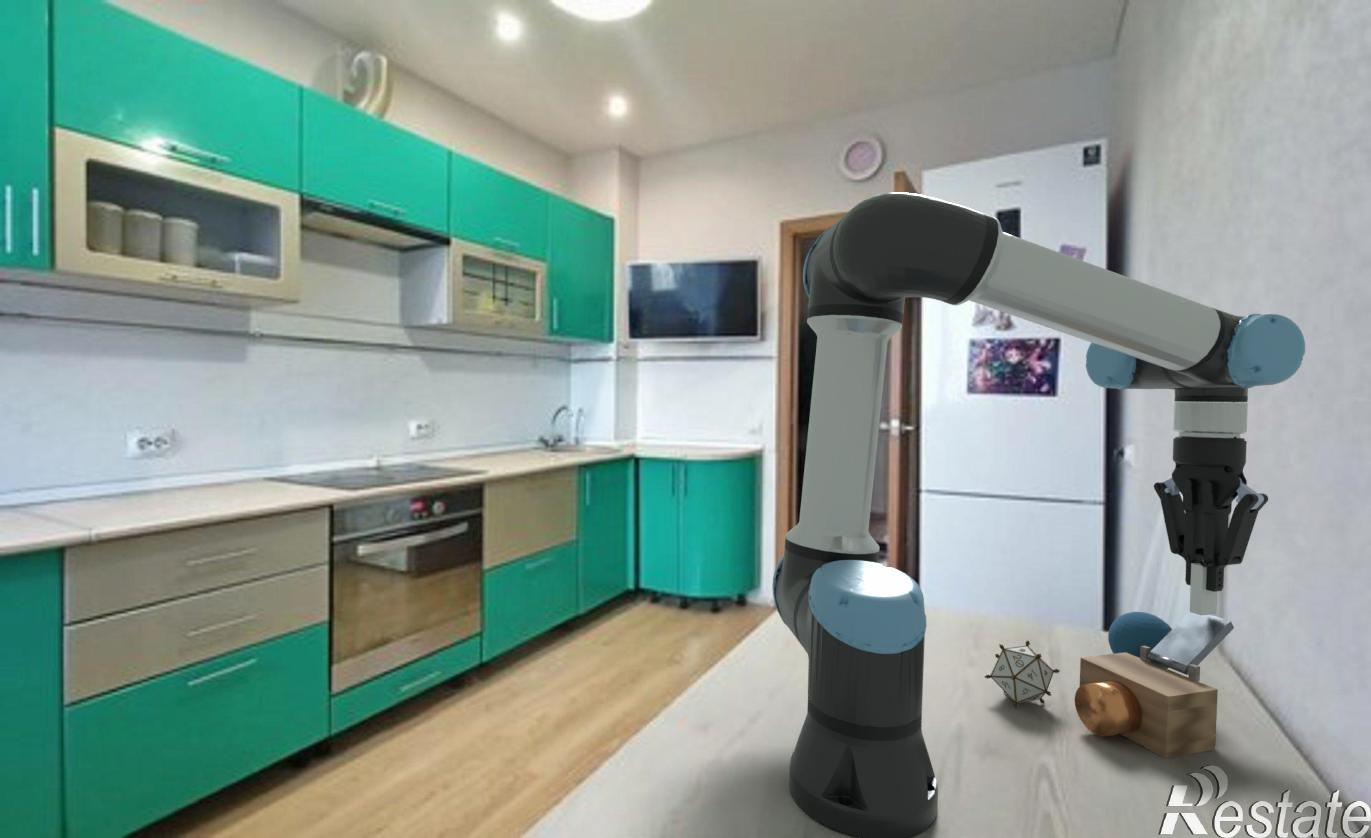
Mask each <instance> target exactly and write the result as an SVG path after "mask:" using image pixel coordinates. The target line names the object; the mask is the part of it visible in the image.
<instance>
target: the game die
mask: <svg viewBox="0 0 1371 838" xmlns="http://www.w3.org/2000/svg"><path fill="white" fill-rule="evenodd" d="M1030 644H1031V642H1030V641H1029V640H1028V639H1027V640H1026V641H1025V645H1021V646H1014V647H1007V648H1005V646H1004V644H1001V643H999V644H998V645H999V648H1000V650H1001V651H1000V654H998V653H995V654H994V655H995V656H994V657H995V658H997V661H996V662H995V665H994V667H993V669H992V671H991V673H990V674H986V675H985V676H984V679H991V680H992V681H994V682H995V683H996V684H997V686H999V687H1000V688H1001V689H1002V691H1003V693H1005V694H1006V695H1007V696H1008V697H1010V699H1011V700H1012V701H1013V702H1014V703H1013V708H1014V710H1016V709H1018V708H1019V704H1020V703H1027V702H1033V701H1039V702H1040V703H1041V704H1043V705H1045V700H1044V699H1043V697H1044V695H1047V696H1048V697H1049V696H1050V697H1052V694H1051V691H1050V690H1049V688H1050V687H1049V686H1050V683H1051V681H1052V679H1053V676H1054V674H1059V673H1060V672H1061V670H1059V669H1058V668H1056V669H1053V668H1051V667H1050V666H1049V664H1048V663H1047V662H1045V661H1044V660H1043V659H1042V654H1041V653H1036V652H1035V651H1034V650H1033V649H1032V648H1031V647H1030Z"/></svg>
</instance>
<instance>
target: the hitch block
mask: <svg viewBox="0 0 1371 838" xmlns="http://www.w3.org/2000/svg"><path fill="white" fill-rule="evenodd" d="M1150 651H1151V648H1150V647H1147V646H1141V649H1140V658H1139V657H1136V656H1134V655H1131V654H1129V653H1126V652H1125V653H1116V654H1113V653H1110V654H1108V653H1107V654H1100V655H1092V656H1084V657H1083V656H1082V657H1080V661H1079V662H1080V667H1079V669H1080V670H1079V687H1080V686H1082V685H1085V684H1091V683H1099V682H1106V681H1117V682H1120V683H1122V684H1124V685H1125V686H1127V687H1128V688H1129V689H1130V690H1131V691H1132V692H1133V693H1134V695H1135V696H1136V698H1137V699H1138V701H1139V704H1140V706H1141V710H1142V722H1141V725H1140V727H1139V728H1138V729H1137V730H1135V731H1133V732H1128V733H1122V734H1121V735H1122V736H1124V737H1126V739H1129V740H1131V741H1133V742H1135V743H1136V744H1139V745H1140V746H1142V747H1144V748H1146V749H1147V750H1149V751H1152V752H1153V753H1154V754H1157V755H1159V756H1160V757H1162V758H1164V759H1170V758H1175V757H1180V756H1181V757H1182V756H1187V755H1193V754H1197V753H1203V752H1207V751H1208V752H1209V751H1214V750H1216V744H1217V743H1216V741H1217V738H1216V737H1217V716H1218V694H1219V693H1218V691H1219V690H1218V689H1217V688H1215V687H1212V686H1209V685H1208V684H1206V683H1203V682H1200V679H1201V666H1199V665H1198V666H1197V665H1194V664H1191V665H1189V675H1183V674H1182V673H1181V674H1180V673H1178V672H1177V671H1174V670H1172V669H1169V668H1168V669H1166V668H1163V667H1161V666H1158V665H1156V664H1153V663H1151V662H1149V661H1150V660H1149V659H1148V654H1149V652H1150Z"/></svg>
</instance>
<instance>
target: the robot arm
mask: <svg viewBox="0 0 1371 838" xmlns="http://www.w3.org/2000/svg"><path fill="white" fill-rule="evenodd" d="M998 219H999V218H996V217H994V216H991V215H988V214H986V213H983V212H979V211H977V210H974V209H972V208H970V207H966V206H963V205H960V204H956V203H953V202H951V201H947V200H943V199H939V198H937V197H936V198H935V197H933V196H932V197H931V196H926V195H923V194H919V193H918V194H917V193H911V192H910V193H909V192H887V193H886V192H885V193H882V194H876V195H873V196H871V197H868V198H866V199H864V200H862V201H861V202H859V203H857V204H856V205H855V206H853V207H852V208H851V209H850V210H848V212H847V213H846V214H845V215H844V216H843V217H841V219H839V220H838V221H837V222H836V223H835V224H833V225H831V226H830V227H828V228H826V229H825V230H824V231H823V232H822V234H819V236H818V237H817V239H816V240H815V242H814V243H813V245H812V246H811V247H810V249H809V250H808V253H807V255H806V257H805V260H804V265H803V268H802V269H803V271H802V281H803V282H802V283H803V287H804V290H805V291H804V292H805V293H806V296H807V298H808V305H807V319H806V323H807V325H808V326H809V327H810V329H811V330H812V331H813V332H814V334H815V335H816V337H817V339H816V351H815V360H814V370H813V378H812V379H813V380H812V387H811V399H810V407H809V408H810V409H809V410H810V411H809V421H808V427H807V428H808V430H807V440H806V450H805V460H804V472H803V480H802V492H801V502H800V509H799V511H800V512H799V522H798V523H797V524H796V525H795V526H793V528H791V529H790V530H789V531H787V532H786V534H785V541H784V549H783V556H782V558H780V560H779V562H778V563H777V566H776V567H775V571H774V572H773V578H772V587H771V588H772V596H773V602H774V605H775V607H776V610H777V613H778V615H779V618H780V619H781V620H782V622H783V623H784V624H785V625H786V627H787V628H788V629H789V631H790V632H791V633H792V634H793V636H794V637H795V638H796V639H797V641H798V643H799V644H800V645H801V647H802V648H803V650H804V651H805V652H806V653H807V659H808V666H807V667H808V673H807V675H808V676H807V677H808V678H807V682H808V683H807V708H806V709H807V713H806V716H805V719H804V721H803V724H802V726H801V730H800V732H799V736H798V738H797V740H796V744H795V748H794V750H793V752H792V755H791V757H790V761H789V772H788V776H789V778H788V779H789V780H788V786H789V790H790V794H791V796H792V798H793V799H794V801H795V803H796V804H797V806H799V807H800V809H802V811H804V812H805V813H806V814H808V816H810V817H811V818H812V819H814V820H815V821H817V822H819V823H821V825H822V824H823V825H824V826H826V827H828V828H830V829H833V830H836V831H838V832H839V833H840V832H841V833H844V834H846V835H850V836H854V837H859V838H909V837H913V836H915V835H918V834H920V833H922V832H924V831H925V830H926V829H928V828H929V827H930V826H932V824H933V823H934V822H935V820H936V818H937V815H938V808H939V807H938V803H939V801H938V800H939V799H938V798H939V789H938V787H939V786H938V783H937V778H936V775H935V771H934V768H933V765H932V762H931V759H930V755H929V750H928V748H927V744H926V742H925V737H924V734H923V730H922V722H923V717H922V716H923V712H922V711H923V691H924V665H925V664H924V663H925V638H926V637H925V636H926V631H927V615H926V610H925V597H924V594H923V591H922V589H921V587H920V586H919V584H918V583H917V581H916V580H914V579H913V578H912V577H911V576H909V575H908V574H907V573H905V572H903V571H902V570H899V569H897V568H895V567H886V566H884V564H883V563H879V558H880V557H879V555H880V545H879V544H878V543H877V542H876V541H875V539H874V538H873V537H872V536H871V534H870V531H869V528H870V519H871V510H872V509H871V507H872V498H873V491H874V489H873V487H874V481H875V479H874V478H875V470H876V469H875V468H876V458H877V447H878V440H879V439H878V437H879V429H880V420H881V419H880V418H881V410H882V399H883V390H884V379H885V372H886V371H885V370H886V360H887V351H888V342H889V340H890V339H891V338H892V337H893V336H894V335H895V334H897V333H898V332H899V331H900V330H902V328H903V320H904V314H905V313H904V311H905V302H906V298H925V299H931V300H936V301H939V302H943V303H946V304H949V305H951V306H960V305H962V304H964V303H967V302H969V301H970V302H972V303H976V304H978V305H981V306H983V307H984V306H985V307H988V308H990V309H993V310H996V311H999V312H1002V313H1005V314H1007V315H1011V316H1014V317H1017V318H1019V319H1023V320H1025V321H1028V322H1031V323H1032V324H1033V323H1034V324H1037V325H1039V326H1043V327H1045V328H1048V329H1051V330H1054V331H1057V332H1060V333H1064V334H1066V335H1068V336H1072V337H1075V338H1078V339H1081V340H1083V341H1087V342H1089V343H1090V344H1089V346H1088V348H1087V351H1086V353H1085V355H1086V356H1085V369H1086V372H1087V375H1088V377H1089V379H1090V380H1091V382H1093V383H1094V384H1095V385H1096V386H1098V387H1100V388H1104V389H1117V390H1119V391H1122V390H1174V405H1173V406H1174V407H1173V408H1174V409H1173V426H1172V427H1173V429H1172V430H1174V432H1178V435H1175V436H1174V437H1173V438H1172V439H1173V441H1172V442H1173V443H1172V460H1173V462H1174V463H1175V466H1174V469H1173V471H1172V473H1171V477H1170V478H1168V479H1167V480H1165V481H1161V482H1159V481H1158V482H1155V483H1154V484H1153V489H1154V491H1155V492H1156V495H1157V496H1158V497H1159V499H1160V504H1161V509H1162V514H1163V519H1164V524H1165V530H1166V534H1167V538H1168V539H1167V540H1168V544H1169V550H1170V552H1171V553H1172V554H1174V555H1178V556H1180V557H1181V558H1183V559H1184V561H1185V584H1186V585H1187V586H1190V596H1189V597H1190V598H1189V612H1191V613H1195V614H1198V615H1201V616H1202V615H1217V606H1218V605H1217V603H1218V592H1222V590H1223V589H1224V583H1225V582H1224V578H1225V568H1226V567H1227V566H1230V565H1231V566H1232V565H1233V566H1234V565H1240V564H1242V563H1243V560H1244V557H1245V555H1246V554H1245V553H1246V551H1247V548H1248V544H1249V541H1250V539H1251V535H1252V533H1253V530H1254V526H1255V523H1256V520H1257V517H1258V514H1259V512H1260V511H1261V509H1262V508H1263V507H1264V506H1265V505H1266V503H1268V502H1269V496H1268V495H1267V494H1265V493H1258V492H1257V491H1255V490H1254V489H1252V488H1251V487H1249V486H1248V480H1247V478H1246V476H1245V474H1244V468H1245V466H1246V464H1247V440H1245V439H1246V438H1243V437H1241V435H1243V434H1245V433H1247V429H1248V407H1249V406H1248V404H1249V403H1248V401H1249V399H1248V398H1249V397H1248V396H1249V389H1250V388H1251V389H1252V388H1254V387H1261V386H1273V385H1277V384H1280V383H1283V382H1285V381H1287V380H1288V379H1290V378H1292V377H1293V376H1294V375H1295V374H1296V373H1297V372H1298V371H1299V369H1300V367H1301V365H1302V361H1303V360H1304V356H1305V354H1306V342H1305V336H1304V334H1303V332H1302V330H1301V329H1300V327H1299V326H1298V325H1297V324H1296V322H1295V321H1293V320H1292V319H1291V318H1289V317H1287V316H1284V315H1281V314H1277V313H1268V314H1261V313H1251V314H1247V315H1245V316H1240V315H1234V314H1232V313H1229V312H1225V311H1223V310H1219V309H1216V308H1213V307H1210V306H1208V305H1206V304H1203V303H1200V302H1197V301H1194V300H1191V299H1188V298H1186V297H1183V296H1180V295H1177V294H1176V293H1172V292H1170V291H1167V290H1164V289H1161V288H1158V287H1156V286H1153V285H1150V284H1148V283H1145V282H1142V281H1139V280H1136V279H1134V278H1131V277H1128V276H1126V275H1123V274H1120V273H1117V272H1114V271H1112V270H1109V269H1106V268H1103V267H1100V266H1098V265H1095V264H1092V263H1090V262H1087V261H1084V260H1081V259H1078V258H1076V257H1072V256H1070V255H1068V254H1065V253H1063V252H1059V251H1056V250H1055V249H1054V250H1053V249H1050V248H1048V247H1046V246H1043V245H1040V244H1037V243H1035V242H1032V241H1029V240H1026V239H1023V238H1021V237H1018V236H1015V235H1012V234H1009V233H1007V232H1004V231H1003V229H1002V225H1001V222H1000V220H998ZM1181 495H1182V496H1181ZM1234 500H1235V502H1236V503H1237V504H1236V505H1235V507H1234V508H1233V512H1232V507H1233V506H1232V503H1233V502H1234ZM1231 513H1232V514H1231ZM1230 514H1231V518H1230V521H1229V517H1230V516H1229V515H1230Z"/></svg>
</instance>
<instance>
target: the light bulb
mask: <svg viewBox="0 0 1371 838" xmlns="http://www.w3.org/2000/svg"><path fill="white" fill-rule="evenodd" d="M1172 629H1173V628H1172V627H1171V626H1170V625H1169V624H1168V623H1167V622H1166V621H1165V620H1164V619H1162V618H1160V617H1158V616H1157V615H1154V614H1152V613H1148V612H1146V611H1132V612H1131V611H1130V612H1127V613H1123V614H1122V615H1121V614H1120V616H1117V618H1115V619H1114V620H1113V621H1112V623H1111V625H1110V627H1109V629H1108V635H1107V638H1108V639H1107V640H1108V645H1109V646H1110V650H1111V652H1112V654H1116V653H1125V652H1126V653H1129V654H1131V655H1134V656H1136V657H1139V658H1140V649H1141V646H1147V647H1150V648H1151V650H1152V649H1153V648H1154V647H1155V646H1156V645H1157V644H1158V643H1159V642H1160V641H1161V640H1162V639H1163V638H1164V637H1165V636H1166V635H1167V634H1168V633H1169V632H1170V631H1171V630H1172ZM1149 662H1151V663H1153V664H1156V665H1158V666H1161V667H1163V668H1166V669H1168V670H1169V668H1168V667H1166V666H1163V665H1161V664H1158V663H1156V662H1153V661H1151V660H1150V661H1149Z"/></svg>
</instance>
